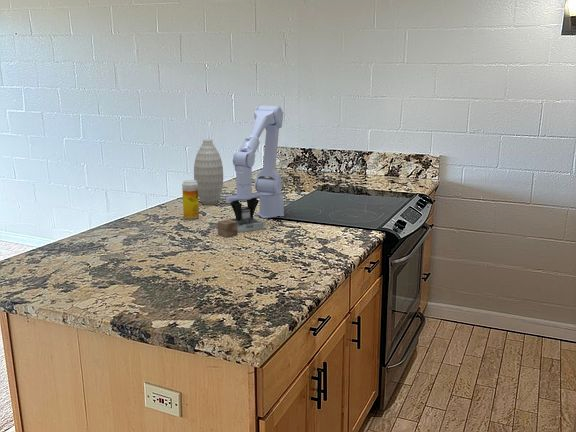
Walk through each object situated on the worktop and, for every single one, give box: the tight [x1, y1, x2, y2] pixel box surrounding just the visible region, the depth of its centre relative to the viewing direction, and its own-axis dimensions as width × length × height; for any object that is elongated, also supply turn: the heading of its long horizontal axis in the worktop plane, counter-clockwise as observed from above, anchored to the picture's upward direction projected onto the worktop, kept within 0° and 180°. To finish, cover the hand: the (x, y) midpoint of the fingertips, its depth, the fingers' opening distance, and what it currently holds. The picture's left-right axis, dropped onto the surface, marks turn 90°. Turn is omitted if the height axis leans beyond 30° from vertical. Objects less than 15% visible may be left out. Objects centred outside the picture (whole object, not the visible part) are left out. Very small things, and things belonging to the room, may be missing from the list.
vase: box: [193, 138, 224, 206], centre depth 252 cm, size 13×13×28 cm
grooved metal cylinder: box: [238, 206, 252, 225], centre depth 217 cm, size 5×5×6 cm
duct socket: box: [225, 215, 264, 233], centre depth 218 cm, size 11×12×2 cm
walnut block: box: [217, 218, 239, 239], centre depth 208 cm, size 5×5×5 cm
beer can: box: [181, 179, 200, 221], centre depth 229 cm, size 6×6×15 cm
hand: (244, 219), depth 218 cm, fingers closed on grooved metal cylinder, 5 cm apart
